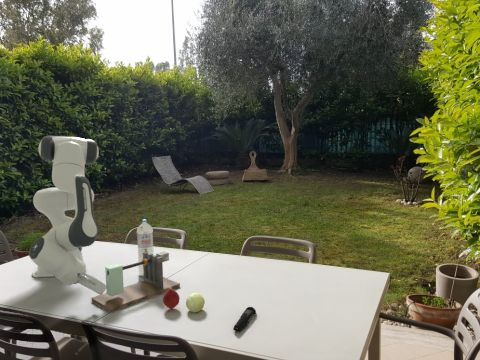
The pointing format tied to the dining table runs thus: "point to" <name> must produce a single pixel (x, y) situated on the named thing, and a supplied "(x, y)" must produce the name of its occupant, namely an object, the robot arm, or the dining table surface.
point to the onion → (171, 298)
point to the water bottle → (144, 242)
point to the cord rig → (140, 284)
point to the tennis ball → (195, 302)
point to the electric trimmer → (244, 319)
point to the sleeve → (114, 279)
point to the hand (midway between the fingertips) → (100, 290)
